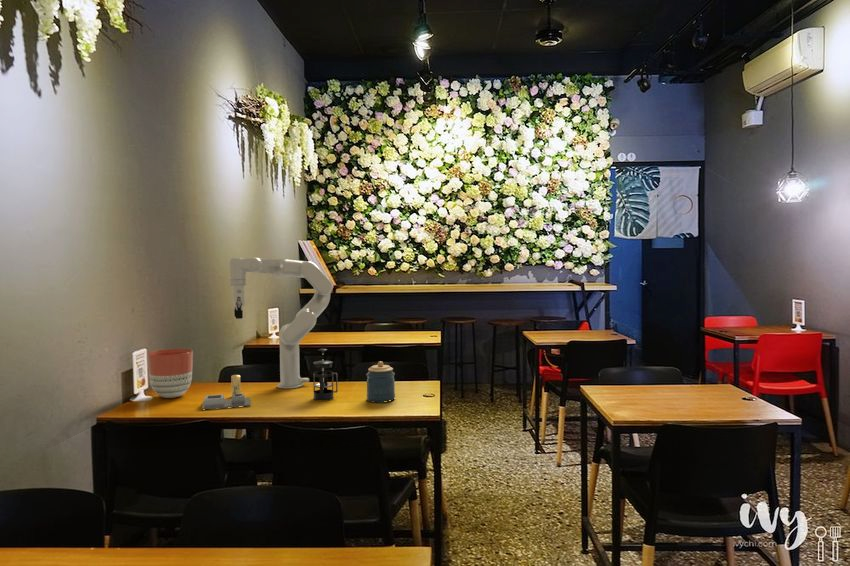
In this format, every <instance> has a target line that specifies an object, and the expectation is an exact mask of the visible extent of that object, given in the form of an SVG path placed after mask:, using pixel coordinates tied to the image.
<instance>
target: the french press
mask: <svg viewBox="0 0 850 566" xmlns="http://www.w3.org/2000/svg"><path fill="white" fill-rule="evenodd" d="M318 351H319V352H321V354H325V352H326V351H328V349H327V348H320V349H318ZM312 363H313V366H314V368H315V369H320V371H315V372H313V373H312V375H313V378H312V379H313V381H312V382H313V397H312V398H313V400H314V401H316V400H328V401H331V400H330V399H332V400H334V399H333V398H335V397H334V393H337V392H338V387H339V386H338V373H337V372H333V371H330V370H324V369H329V368H332V367H333V363H334V361H331V360H317V361H313V362H312ZM334 375H335V390H334ZM330 377H331V383H330V382H328V378H330ZM315 378H319V380H318V382H319V383H315V382H316V381H315V380H316V379H315ZM317 388H318V389H317ZM328 388H332V389H328Z"/></svg>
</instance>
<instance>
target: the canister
mask: <svg viewBox="0 0 850 566" xmlns="http://www.w3.org/2000/svg"><path fill="white" fill-rule="evenodd" d="M393 370H394V368H393V367H391V366H390V365H389V364H384V362H383V361H381V360H380V361H378V362H377V364H374V365H372V366H370V367H369V368H368V372H367V373H366V374H365V375H366V377H367V380H366V399H367V401H368V400H369V401H368V402H370V401H374V402H373V403H376V402H383V403H385V402H384V401H389V400H393V399H394V398H396V391H395V390H396V389H395V388H396V387H395V386H396V383H395V382H396V381H395V380H396V379H395V375H396V373H395V372H394V371H393ZM394 400H395V399H394ZM394 400H393V401H394Z"/></svg>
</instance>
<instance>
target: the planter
mask: <svg viewBox="0 0 850 566" xmlns="http://www.w3.org/2000/svg"><path fill="white" fill-rule="evenodd" d="M193 357H194V350H193V349H191V348H167V349H158V350H153V351H150V352H149V351H148V352H147V362H148V363H147V364H148V371H149V372H148V373H149V374H148V375H149V383H150V386H151V388H152V390H153V391H154V393H156V395H158V396H159V397H161V398H163V399H174V398H175V399H176V398H177V397H178V398H179V397H181V396H183V395H184V394H185V393H186V392H187V391H188V390H189V388H190V386H191V384H192V379H193V364H194V363H193V360H194V358H193Z"/></svg>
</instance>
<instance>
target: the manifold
mask: <svg viewBox="0 0 850 566" xmlns="http://www.w3.org/2000/svg"><path fill="white" fill-rule="evenodd" d="M245 396H246V395H245V393H241V394H232V393H231V398H225V394H224V393H223V394H210V395H209V394H208V395H205V396H204V399H203V401H202V405H201V411H202V410H203V409H216V408H228V407H239V406H250V407H251V397H245Z"/></svg>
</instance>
